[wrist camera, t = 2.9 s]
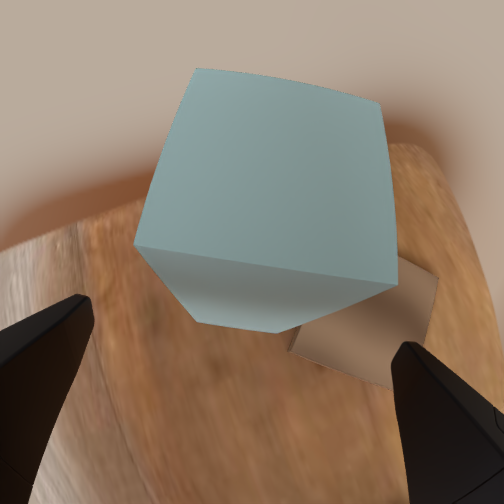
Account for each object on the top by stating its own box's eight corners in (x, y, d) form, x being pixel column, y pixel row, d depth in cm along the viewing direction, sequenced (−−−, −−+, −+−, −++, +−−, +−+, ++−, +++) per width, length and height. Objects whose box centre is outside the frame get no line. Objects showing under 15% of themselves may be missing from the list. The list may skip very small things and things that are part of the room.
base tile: (396, 392, 18) (406, 394, 17) (285, 351, 19) (290, 351, 17) (427, 282, 21) (438, 277, 20) (332, 234, 22) (339, 226, 20)
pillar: (276, 333, 19) (398, 285, 5) (196, 321, 18) (133, 244, 5) (284, 258, 20) (379, 103, 7) (210, 246, 20) (196, 68, 7)
